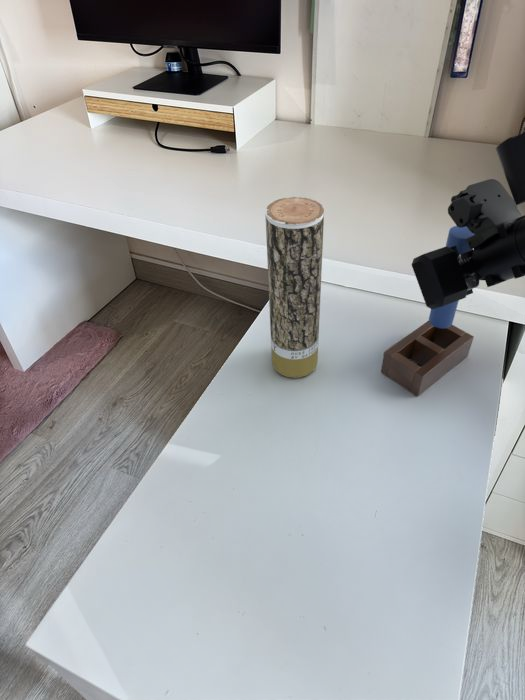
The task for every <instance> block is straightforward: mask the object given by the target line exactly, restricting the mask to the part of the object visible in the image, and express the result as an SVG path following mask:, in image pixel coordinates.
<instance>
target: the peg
mask: <svg viewBox="0 0 525 700" xmlns="http://www.w3.org/2000/svg"><path fill="white" fill-rule="evenodd" d="M473 235H475V234H473V233H472V232H470V230H469V229H468V228H467V227H462V228H459V227H457V225H455V226H452V227H450V228H449V230H448V235H447V238H446V243H445V247H446V246H447V247H449V248H450V247H453V246H457V249H458V252H459V255H460V254H462V253H465V252H468V251H471V250H474V248H473V249H470V247H469V244H468V242H467V238H469V237H471V236H473ZM469 261H470V260H469ZM459 302H460V300H458V301H456V302H453V303H450V304H448V305H445V306H443V307H439V308H436V309H430V312H429V317H428V321H429V322H430V324H431V325H433V326H435V327H437V328H448V327H450V326H451V325H453V323H454V319H455V316H456V312H457V309H458V305H459Z"/></svg>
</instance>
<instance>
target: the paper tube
mask: <svg viewBox="0 0 525 700" xmlns="http://www.w3.org/2000/svg"><path fill="white" fill-rule="evenodd" d="M324 220H325V209H324V206H323V205H322V204H321V203H320V202H319V201H317V200H315V199H312V198H310V197H309V198H308V197H305V196H304V197H303V196H287V197H283V198H282V197H281V198H279V199H277V200H274V201H272V202H270V203H269V204H268V205H267V206H266V208H265V237H266V257H267V281H268V283H267V285H268V300H269V301H268V303H269V326H270V328H269V329H270V344H271V345H270V346H271V347H270V349H271V363H272V366H273V368H274V370H275V371H276V372H277V373H279V374H280V375H281V376H283V377H287V378H294V379H297V378H303V377H305V376H308V375H310V374H311V373H312V372H314V370H315V369H316V368H317V365H318V361H319V360H318V359H319V357H318V356H319V341H320V340H319V338H320V337H319V336H320V313H321V291H322V269H323V268H322V267H323V249H324V248H323V246H324V244H323V243H324V225H325V223H324V222H325V221H324Z"/></svg>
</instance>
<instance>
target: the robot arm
mask: <svg viewBox="0 0 525 700" xmlns="http://www.w3.org/2000/svg"><path fill="white" fill-rule="evenodd" d="M495 152H496V155H497V158H498V160H499V163H500V166H501V168H502V171H503V174H504V176H505V179H506V183H507V186H508V189H509V190H510V193H511V194H510V193H509V192H508V190H507V189H506V187H504V186H503V184H502V183H501V182H500V181H499V180H497V179H495V178H490V179H486V180H482V181H479V182H476V183H472V184H468V186H467V187H466V188H465V189H463V190H460V191H459V192H458V193H457V194H455V195H452V197H451V198H450V204H449V205H448V207H447V214H448V216H449V217H450V219H451V220H452V221H453V223H454V224H455V226H457V227H459V228H462V227H467V228H468V229H469V230H470V232H472V233H473V234H475V235H473V236H471V237H469V238H467V242H468V244H469V247H470V249H473V250H471V251H468V252H465V253H462V254H460V255H459V252H458V249H457V246H453V247H450V248H449V247H447V246H446V245H445V246H443V247H440V248H437V249H434V250H431V251H429V252H426V253H422V254H420V255H418V256H416V257H414V258H412V259H413V260H412V262H411V268H412V270H413V273H414V276H415V279H416V281H417V284H418V287H419V289H420V292H421V295H422V298H423V301H424V303H425V306H426V307H427V308H428V309H430V310H431V309H436V308H439V307H443V306H445V305H448V304H450V303H453V302H456V301H458V300H459V301H461V300H464V299H466V298H467V296H470V295H471V294H474V291H473V290H474V289H475V288H478V287H479V285H480V281H485V284H486V287H487V288H489V287H493V286H496V285H499V284H501V283H504V282H506V281H507V282H508V281H509V280H511V279H512V280H513V279H515V280H516V279H519V278H523V277H525V214H524V215H522V214H521V212H520V210H519V208H518V205H522V204H524V203H525V131H524V132H522V133H520V134H517V135H514V136H511V137H509V138H506V139H505V140H504V141H502V142H501V143H500V144H498V145H497V146H496V148H495ZM469 260H470V261H469ZM459 301H458V302H459Z"/></svg>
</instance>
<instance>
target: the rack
mask: <svg viewBox="0 0 525 700" xmlns="http://www.w3.org/2000/svg"><path fill="white" fill-rule="evenodd" d="M474 337H475V336H474V335H472V334H470V333H469V332H466V331H465V330H463V329H461V328H459V327H458V326H455V325H454V324H452V325H451V326H450V327H448V328H437V327H435V326H433V325H431V324H430V322H429V320H427V321H426V322H424V323H423V324H421V325H420V326H418V327H417V328H416V329H414V330H413V331H412V332H410V333H408V334H407V335H406V336H404V337H403V338H402V339H400V340H399V341H397V342H396V343H395V344H393V345H392V346H390V347H389V348H387V349H386V350H385V351H383V356H382V362H381V368H380V372H381V374H383V375H384V376H387V377H388V378H389V379H390V380H392V381H394V382H395V383H396V384H397V385H400V386H401V387H403V388H404V389H406V390H407V391H409V392H410V393H411V394H413V395H414V396H416V397H419V396H421V395H422V394H423V393H424V392H426V391H427V390H428V389H429V388H431V387H432V386H433V385H434V384H436V383H437V382H438V381H439V380H441V379H442V378H444V376H446V375H447V374H448V373H449V372H451V371H452V370H453V369H455V367H456V366H458V365H459V364H460V363H461V362H463V361H464V360H465V359H467V358H468V356H469V353H470V350H471V348H472V345H473V341H474Z"/></svg>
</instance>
